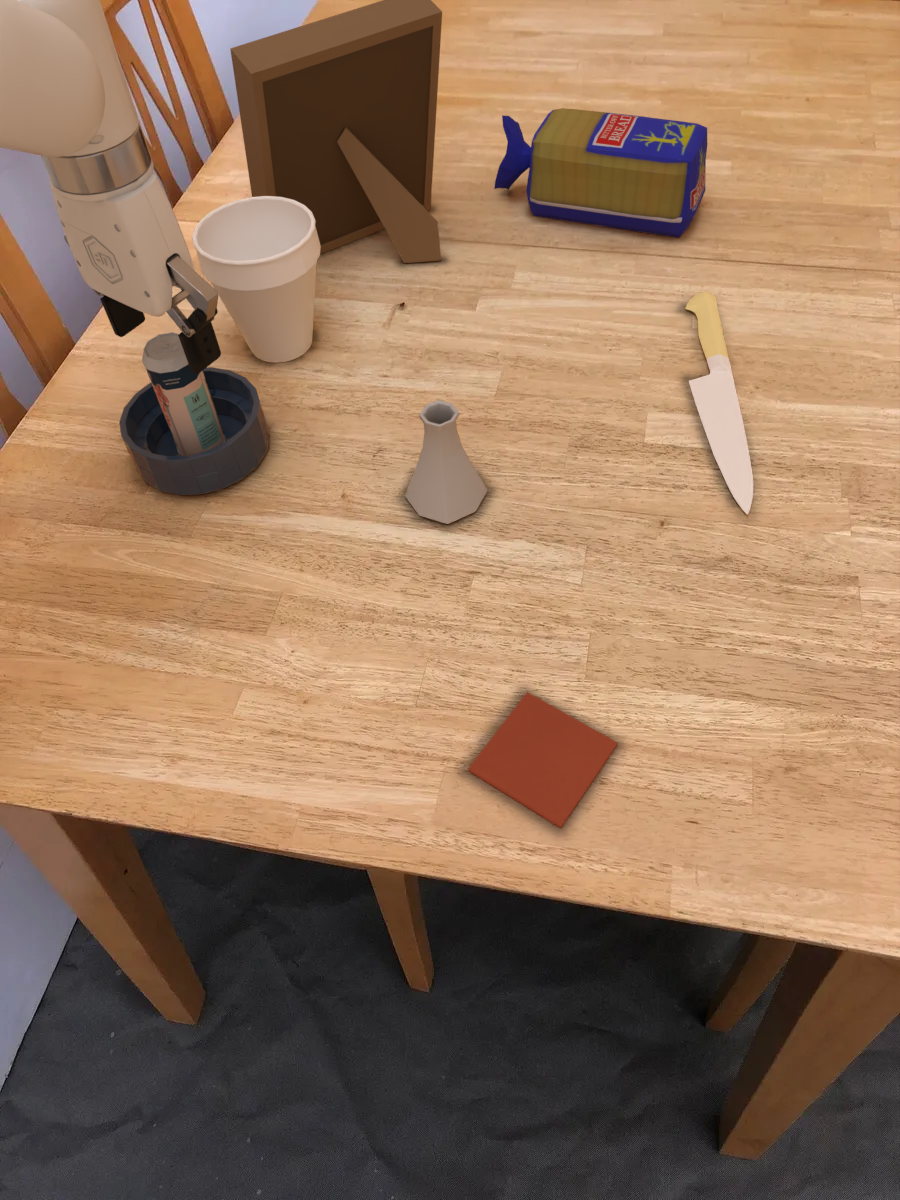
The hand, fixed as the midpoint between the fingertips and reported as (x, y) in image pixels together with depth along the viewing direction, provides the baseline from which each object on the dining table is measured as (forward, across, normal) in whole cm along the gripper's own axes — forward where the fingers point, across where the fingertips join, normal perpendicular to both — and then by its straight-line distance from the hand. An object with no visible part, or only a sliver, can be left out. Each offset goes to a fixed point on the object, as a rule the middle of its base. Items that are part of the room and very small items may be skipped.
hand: (168, 345), depth 82 cm
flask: (+12, +24, +8) cm, 28 cm away
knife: (+13, +39, +33) cm, 52 cm away
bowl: (+12, 0, 0) cm, 12 cm away
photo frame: (+13, -8, +36) cm, 39 cm away
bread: (+13, +11, +58) cm, 60 cm away
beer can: (+12, 0, 0) cm, 12 cm away
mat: (+12, +46, -10) cm, 49 cm away
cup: (+13, -5, +16) cm, 21 cm away
